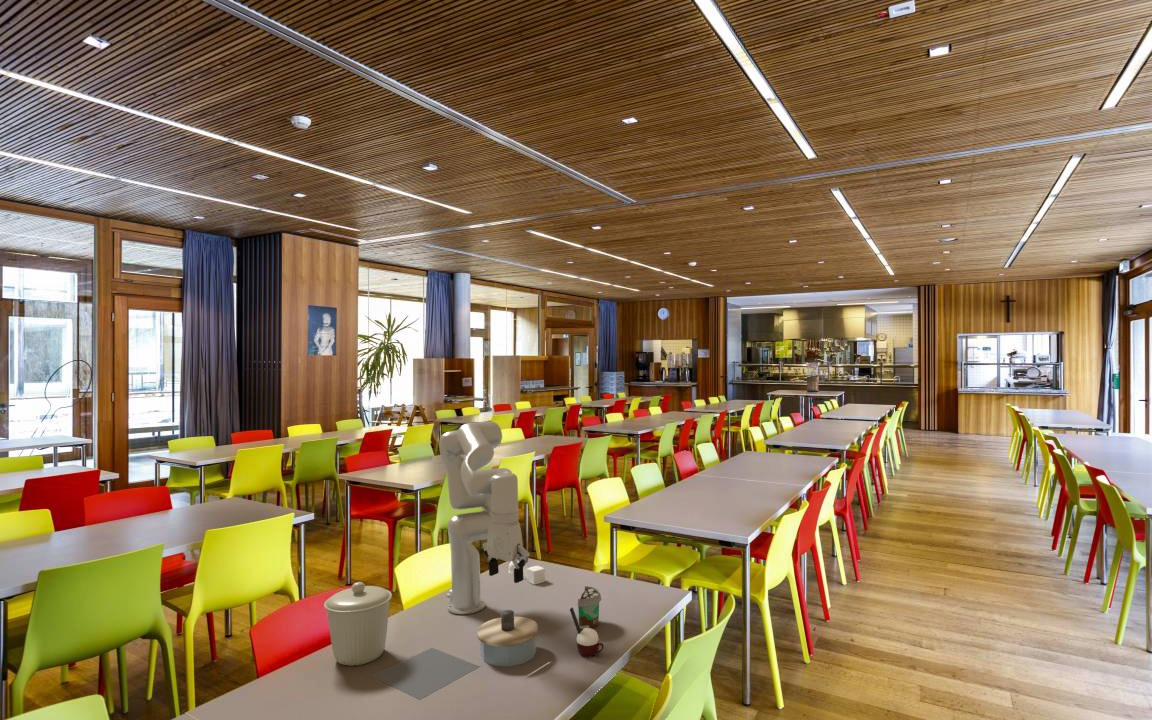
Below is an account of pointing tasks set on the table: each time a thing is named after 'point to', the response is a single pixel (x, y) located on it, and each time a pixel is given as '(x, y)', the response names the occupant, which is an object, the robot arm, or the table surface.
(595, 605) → the food container
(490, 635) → the lid
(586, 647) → the cocoa
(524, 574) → the container set
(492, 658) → the bowl
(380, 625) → the canister
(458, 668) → the mat
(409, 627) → the table surface
